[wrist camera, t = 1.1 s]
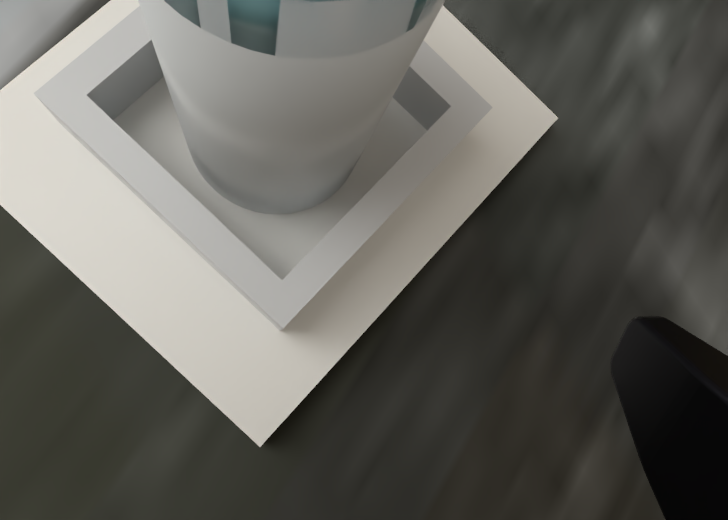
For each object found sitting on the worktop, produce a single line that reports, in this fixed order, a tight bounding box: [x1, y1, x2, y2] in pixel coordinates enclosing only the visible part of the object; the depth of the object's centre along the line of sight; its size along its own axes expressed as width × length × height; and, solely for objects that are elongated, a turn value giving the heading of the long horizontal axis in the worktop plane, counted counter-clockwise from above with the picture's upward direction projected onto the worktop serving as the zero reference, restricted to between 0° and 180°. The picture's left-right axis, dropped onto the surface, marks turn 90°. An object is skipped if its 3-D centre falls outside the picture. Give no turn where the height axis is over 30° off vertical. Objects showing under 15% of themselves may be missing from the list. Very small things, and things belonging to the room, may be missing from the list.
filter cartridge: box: [138, 0, 445, 214], centre depth 15 cm, size 6×6×13 cm
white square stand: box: [0, 0, 558, 447], centre depth 20 cm, size 16×14×4 cm
